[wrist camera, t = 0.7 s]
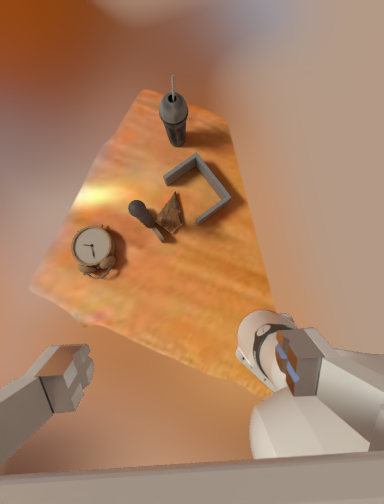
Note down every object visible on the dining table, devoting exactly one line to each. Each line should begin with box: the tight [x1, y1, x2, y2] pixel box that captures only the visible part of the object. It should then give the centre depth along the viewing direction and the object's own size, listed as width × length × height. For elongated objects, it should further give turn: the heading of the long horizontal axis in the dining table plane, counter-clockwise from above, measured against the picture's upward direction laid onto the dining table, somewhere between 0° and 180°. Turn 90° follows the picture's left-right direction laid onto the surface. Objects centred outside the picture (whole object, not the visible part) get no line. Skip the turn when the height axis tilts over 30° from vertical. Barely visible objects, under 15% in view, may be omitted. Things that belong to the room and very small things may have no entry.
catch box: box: [163, 152, 232, 226], centre depth 60 cm, size 16×12×5 cm
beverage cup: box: [159, 75, 188, 147], centre depth 54 cm, size 7×7×20 cm
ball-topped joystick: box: [128, 200, 166, 243], centre depth 52 cm, size 12×4×18 cm, turn 37°
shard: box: [155, 191, 184, 234], centre depth 61 cm, size 11×8×2 cm
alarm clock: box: [71, 225, 116, 279], centre depth 59 cm, size 11×5×15 cm
